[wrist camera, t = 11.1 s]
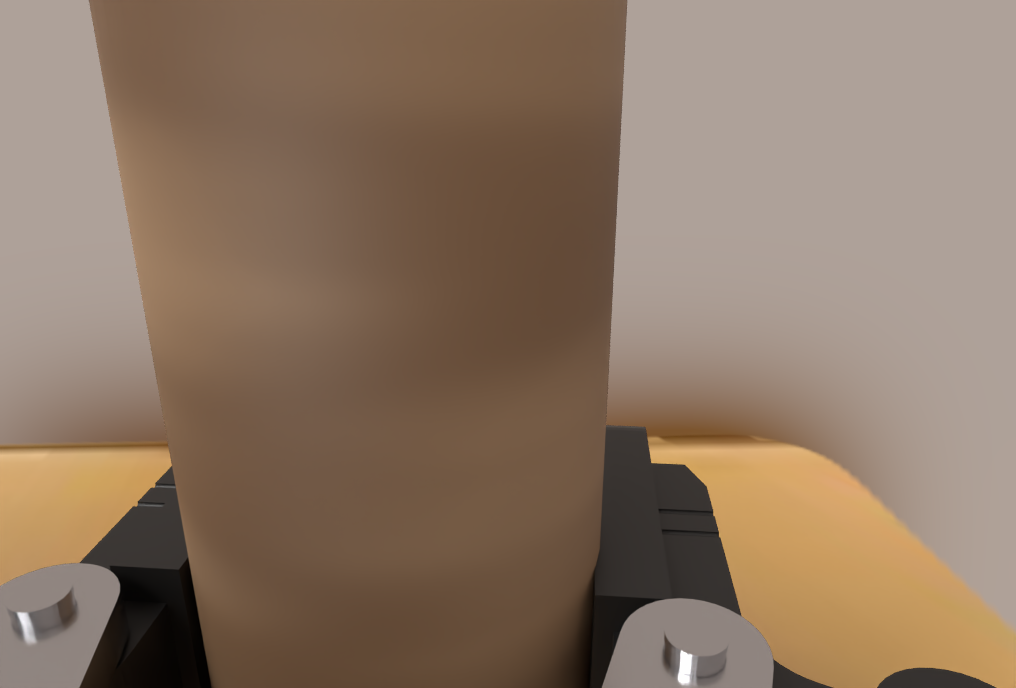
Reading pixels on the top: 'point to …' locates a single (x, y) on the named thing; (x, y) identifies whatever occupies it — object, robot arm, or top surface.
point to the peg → (378, 323)
